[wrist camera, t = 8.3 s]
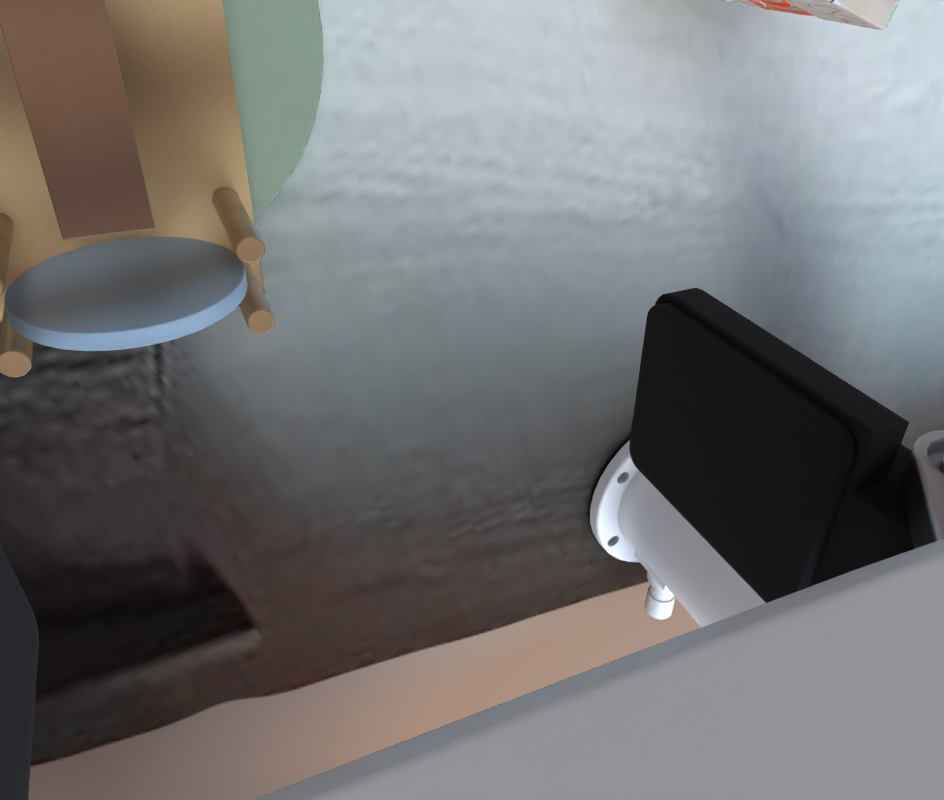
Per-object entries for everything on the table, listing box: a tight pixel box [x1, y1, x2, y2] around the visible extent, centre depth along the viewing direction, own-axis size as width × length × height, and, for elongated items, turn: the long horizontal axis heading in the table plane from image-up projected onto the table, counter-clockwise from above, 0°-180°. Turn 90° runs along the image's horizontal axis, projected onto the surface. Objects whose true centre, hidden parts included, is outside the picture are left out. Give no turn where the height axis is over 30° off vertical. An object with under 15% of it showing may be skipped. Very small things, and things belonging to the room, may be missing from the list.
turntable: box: [222, 0, 323, 218], centre depth 25 cm, size 16×16×1 cm
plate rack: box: [0, 0, 275, 377], centre depth 20 cm, size 18×9×10 cm, turn 178°
